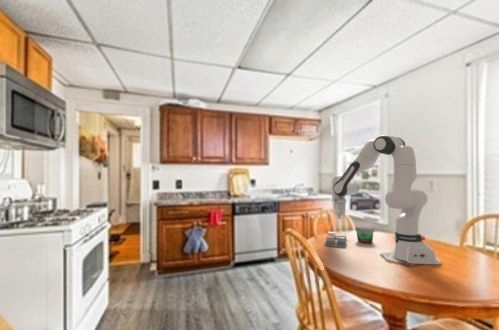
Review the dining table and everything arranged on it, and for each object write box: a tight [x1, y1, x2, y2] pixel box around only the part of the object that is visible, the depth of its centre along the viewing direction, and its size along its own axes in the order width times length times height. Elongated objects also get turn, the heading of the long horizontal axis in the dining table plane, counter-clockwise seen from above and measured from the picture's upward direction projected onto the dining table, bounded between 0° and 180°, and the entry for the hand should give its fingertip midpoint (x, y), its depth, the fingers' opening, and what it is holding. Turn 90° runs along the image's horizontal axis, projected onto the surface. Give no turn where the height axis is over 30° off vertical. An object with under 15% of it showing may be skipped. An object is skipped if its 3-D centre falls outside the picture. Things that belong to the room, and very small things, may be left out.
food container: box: [355, 227, 375, 245], centre depth 185 cm, size 12×6×10 cm, turn 73°
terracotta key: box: [326, 236, 334, 242], centre depth 182 cm, size 4×4×3 cm
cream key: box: [327, 231, 336, 237], centre depth 195 cm, size 4×4×3 cm
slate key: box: [338, 237, 345, 243], centre depth 179 cm, size 4×4×3 cm
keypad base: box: [325, 234, 348, 249], centre depth 187 cm, size 13×28×2 cm, turn 160°
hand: (339, 218), depth 190 cm, fingers closed
